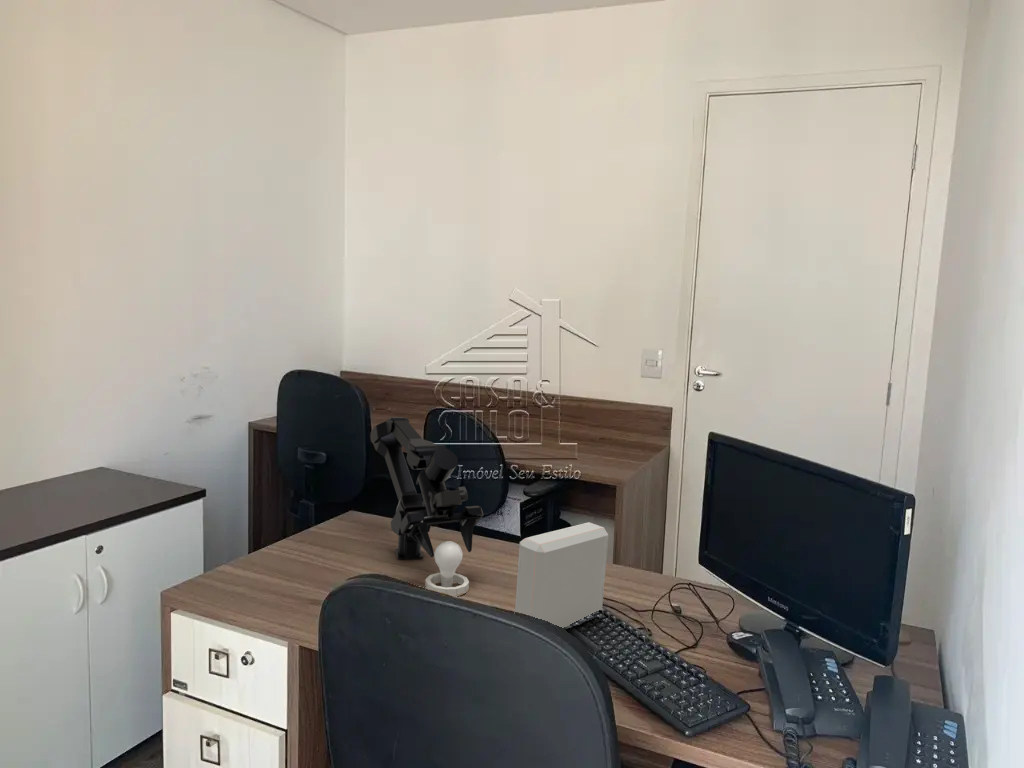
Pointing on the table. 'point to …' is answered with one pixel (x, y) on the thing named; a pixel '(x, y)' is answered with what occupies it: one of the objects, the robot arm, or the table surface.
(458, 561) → the lightbulb
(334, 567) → the table surface
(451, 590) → the socket
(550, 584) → the bevelled white case
